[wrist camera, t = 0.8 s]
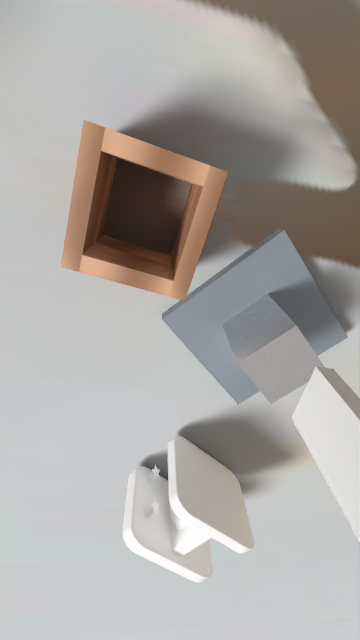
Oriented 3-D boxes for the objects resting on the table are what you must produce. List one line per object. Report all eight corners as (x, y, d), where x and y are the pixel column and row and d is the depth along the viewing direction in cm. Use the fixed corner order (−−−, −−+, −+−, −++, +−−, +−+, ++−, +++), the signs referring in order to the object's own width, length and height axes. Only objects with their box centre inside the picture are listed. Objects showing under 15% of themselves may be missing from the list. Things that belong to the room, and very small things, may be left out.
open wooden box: (86, 244, 32) (61, 266, 24) (106, 136, 28) (83, 119, 20) (179, 271, 34) (184, 300, 25) (210, 173, 30) (228, 172, 22)
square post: (221, 325, 35) (237, 363, 28) (267, 293, 34) (296, 325, 26) (249, 360, 37) (271, 403, 30) (293, 331, 36) (326, 370, 29)
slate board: (162, 314, 36) (162, 319, 34) (279, 227, 32) (284, 229, 31) (235, 396, 42) (238, 404, 40) (341, 331, 38) (348, 337, 37)
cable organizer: (241, 473, 48) (263, 555, 38) (193, 506, 51) (202, 591, 41) (174, 426, 43) (179, 505, 33) (126, 465, 46) (115, 549, 36)
